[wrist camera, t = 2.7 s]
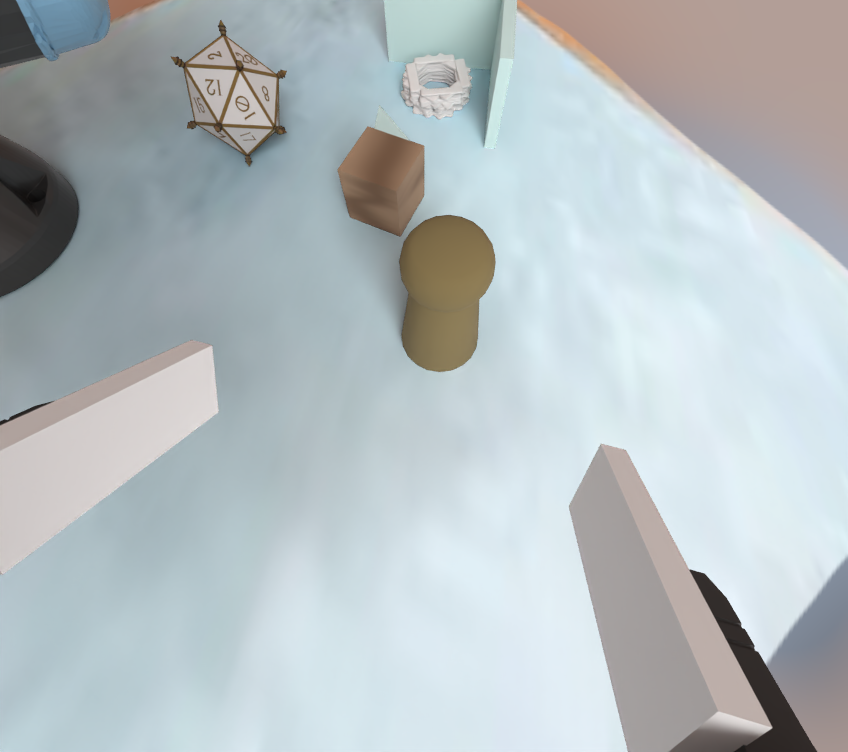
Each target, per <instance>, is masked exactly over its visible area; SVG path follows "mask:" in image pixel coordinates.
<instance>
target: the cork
mask: <svg viewBox="0 0 848 752" xmlns="http://www.w3.org/2000/svg"><path fill="white" fill-rule="evenodd" d="M399 264H400V271H401V278H402V281H403V283H404V285H405V287H406V289H407V291H408V292H409V294H408V300H407V306H406V312H405V317H404V323H403V329H402V343H403V347H404V349H405V351H406V353H407V355H408V357H409V358H410V359H411V360H412V361H413V362H414V363H415V364H417V365H419V366H421V367H423V368H425V369H427V370H431V371H437V372H443V371H450V370H453V369H456V368H458V367H460V366H462V365H463V364H464V363H466V362H467V361H468V360H469V359H470V358H471V356H472V355H473V353H474V351H475V349H476V346H477V339H478V318H479V299H480V298H481V297H482V296H483V295H484V294H485V293H486V291H487V289H488V287H489V285H490V284H491V282H492V279H493V276H494V270H495V254H494V250H493V246H492V243H491V242H490V240H489V239H488V237H487V235H486V234H485V232H484V231H483V230H482V229H481V228H480V227H479V226H477V225H476V224H475V223H474V222H472V221H470V220H467V219H465V218H463V217H459V216H452V215H444V216H435V217H433V218H430V219H428V220H425V221H423V222H422V223H421V224H420V225H418V226H417V227H416V228H415V229H413V230H412V231H411V232H410V234H409V235H408V237H407V238H406V240H405V241H404V244H403V247H402V251H401V255H400V259H399Z"/></svg>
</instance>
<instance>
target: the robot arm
mask: <svg viewBox="0 0 848 752" xmlns="http://www.w3.org/2000/svg"><path fill="white" fill-rule="evenodd" d="M109 27H110V9H109V5H108V0H0V68H3V67H7V66H11V65H15V64H19V63H23V62H27V61H31V60H35V59H39V58H44V57H45V58H47V59H48V60H49V61H54V60H57V59H58V57H59V54H61V53H64V52H67V51H70V50H73V49H77V48H80V47H83V46H86V45H90V44H93V43H96V42H98V41H100V40H102V39H103V38H104V37H105V36H106V35H107V33H108V31H109ZM77 216H78V203H77V198H76V195H75V192H74V190H73V188H72V187H71V185H70V184H69V183H68V182H67V180H66V179H64V178H63V177H62V176H61V175H60V174H59V173H58V172H57V171H55V170H54V169H53V168H52V167H51V166H50V165H49V164H47V163H46V162H45V161H44V160H43V159H41V158H40V157H39V156H37V155H36V154H34V153H33V152H31V151H30V150H28V149H26V148H24V147H22V146H20V145H19V144H17V143H15V142H13V141H11V140H9V139H8V138H6V137H4V136H2V135H0V297H1V296H3V295H5V294H8V293H10V292H12V291H14V290H16V289H18V288H19V287H21V286H23V285H25V284H26V283H28V282H29V281H31V280H32V279H34V278H35V277H36V276H38V275H39V274H40V273H41V272H43V271H44V270H45V269H46V268H47V267H48V266H49V265H50V264H51V263H52V262H53V261H54V260H55V259H56V258H57V257H58V256H59V254H60V253H61V252H62V251H63V249H64V248H65V246H66V245H67V243H68V241H69V240H70V238H71V236H72V233H73V231H74V228H75V225H76V221H77ZM218 412H219V411H218V400H217V390H216V380H215V369H214V359H213V348H212V345H210V344H206V343H202V342H198V341H194V340H190V341H188V342H186V343H184V344H181V345H179V346H177V347H175V348H172V349H170V350H168V351H166V352H163V353H161V354H159V355H157V356H154V357H152V358H150V359H148V360H146V361H143V362H141V363H139V364H137V365H134V366H132V367H130V368H128V369H125V370H123V371H121V372H119V373H116V374H114V375H112V376H110V377H108V378H105V379H103V380H101V381H99V382H96V383H94V384H92V385H90V386H87V387H85V388H83V389H81V390H78V391H76V392H74V393H72V394H70V395H67V396H65V397H63V398H61V399H58V400H56V401H52V402H48V403H45V404H41V405H37V406H34V407H32V408H30V409H27V410H25V411H23V412H21V413H18V414H16V415H14V416H11V417H10V419H9V420H2V421H0V574H2V575H3V574H4V573H6V572H7V571H8V570H10V569H11V568H12V567H14V566H15V565H16V564H18V563H19V562H20V561H22V560H23V559H24V558H26V557H27V556H28V555H30V554H31V553H32V552H34V551H35V550H36V549H38V548H39V547H40V546H42V545H43V544H44V543H46V542H47V541H48V540H50V539H51V538H52V537H54V536H55V535H56V534H58V533H59V532H60V531H62V530H63V529H64V528H66V527H67V526H68V525H70V524H71V523H72V522H74V521H75V520H76V519H77V518H79V517H80V516H81V515H83V514H84V513H85V512H87V511H88V510H89V509H91V508H92V507H93V506H95V505H96V504H97V503H99V502H100V501H101V500H103V499H104V498H105V497H107V496H108V495H109V494H111V493H112V492H113V491H115V490H116V489H117V488H119V487H120V486H121V485H123V484H124V483H125V482H127V481H128V480H129V479H131V478H132V477H133V476H135V475H136V474H137V473H139V472H140V471H141V470H143V469H144V468H145V467H147V466H148V465H149V464H151V463H152V462H153V461H155V460H156V459H157V458H159V457H160V456H161V455H163V454H164V453H165V452H167V451H168V450H169V449H171V448H172V447H173V446H174V445H176V444H177V443H178V442H180V441H181V440H182V439H184V438H185V437H186V436H188V435H189V434H190V433H192V432H193V431H194V430H196V429H197V428H198V427H200V426H201V425H202V424H204V423H205V422H206V421H208V420H209V419H210V418H212V417H213V416H214V415H216V414H217V413H218ZM569 510H570V514H571V518H572V522H573V526H574V530H575V535H576V539H577V543H578V547H579V551H580V555H581V559H582V563H583V568H584V572H585V576H586V580H587V584H588V588H589V592H590V597H591V601H592V605H593V609H594V613H595V617H596V621H597V625H598V630H599V634H600V638H601V642H602V646H603V650H604V654H605V659H606V663H607V667H608V671H609V675H610V679H611V683H612V688H613V692H614V696H615V700H616V704H617V708H618V712H619V716H620V721H621V725H622V729H623V733H624V737H625V741H626V745H627V750H628V752H817V751H816V749H815V748H814V746H813V745H812V743H811V741H810V740H809V738H808V736H807V734H806V733H805V731H804V729H803V728H802V726H801V725H800V723H799V721H798V719H797V718H796V716H795V714H794V712H793V711H792V709H791V707H790V705H789V704H788V702H787V700H786V699H785V697H784V695H783V694H782V692H781V690H780V688H779V687H778V685H777V683H776V682H775V680H774V678H773V677H772V675H771V673H770V671H769V670H768V668H767V666H766V664H765V663H764V661H763V659H762V658H761V656H760V654H759V653H758V652H757V651H755V650H754V644H753V642H752V641H751V639H750V637H749V635H748V634H747V632H746V630H745V629H743V628H742V627H741V622H740V620H739V618H738V617H737V615H736V613H735V612H734V610H733V608H732V606H731V605H730V603H729V601H728V600H727V598H726V597H725V596H724V595H723V593H722V592H721V591H720V590H719V589H718V588H717V587H716V586H715V585H714V584H713V582H712V581H711V580H710V579H709V578H708V577H707V576H706V575H705V574H704V573H700V572H697V571H693V570H689V569H688V567H687V565H686V563H685V561H684V559H683V557H682V555H681V554H680V552H679V550H678V548H677V546H676V544H675V542H674V540H673V538H672V536H671V535H670V533H669V531H668V529H667V527H666V525H665V523H664V521H663V519H662V518H661V516H660V514H659V512H658V510H657V508H656V506H655V504H654V502H653V501H652V499H651V497H650V495H649V493H648V491H647V489H646V487H645V485H644V484H643V482H642V480H641V478H640V476H639V474H638V472H637V470H636V468H635V467H634V465H633V463H632V461H631V459H630V457H629V455H628V453H627V451H626V450H623V449H619V448H616V447H612V446H608V445H604V444H601V445H600V447H599V449H598V450H597V452H596V454H595V456H594V458H593V460H592V462H591V464H590V466H589V468H588V470H587V472H586V474H585V476H584V478H583V480H582V482H581V484H580V485H579V487H578V489H577V491H576V493H575V495H574V497H573V499H572V501H571V503H570V505H569Z"/></svg>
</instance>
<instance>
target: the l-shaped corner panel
mask: <svg viewBox="0 0 848 752" xmlns="http://www.w3.org/2000/svg"><path fill="white" fill-rule="evenodd" d="M384 7H385V20H386V33H387V46H388V58H389V62H400V63H409V64H406V66H405V67H406V70H405V73H404V74H403V77H404V78H402V80H403V88H404V90H402V91H401V94H402V96H403V99H404V100H406V101H405V103H406V104H407V106H413V113H414V114H423V115H424V116H425V117H426V118H429V117H431V116H432V115H434V116H435V117H436V118H438V119H439V120H440V119H442V118H444V117H445V116H446V117H452V116H453V112H454V111H455V110H462V108H463V105H465V104H466V103H468V102H469V98H468V97H469V94H470V89H471V88H472V84H471V83H470V81H471V80H472V78H473V77H471V76H470V75H468V74H469V73H470V72H471V69H470V68H474V69H486V70H491V72H490V84H489V96H488V108H487V120H486V132H485V144H484V148H492V149H495V146H496V142H497V137H498V132H499V127H500V122H501V118H502V113H503V108H504V103H505V99H506V94H507V89H508V84H509V79H510V75H511V70H512V65H513V60H514V45H515V27H516V9H517V0H384ZM429 81H435V82H446V83H447V84H448V85H449V86H450V87H446V88H434V89H427V88H426V87H424V86H422V85H424V84H426V83H427V82H429ZM374 129H377V130H380V131H383V132H386V133H388V134H391V135H394V136H397V137H400V138H403V139H406V140H409V139H408V138H407V136H406V135H405V134H404V133H403V132H402V131H401V129H400V128H399V127H398V126H397V125H396V124H395V123H394V121H393V120H392V119H391V118H390V117H389V116H388V114H387V113H386V112H385V111H384V110H383V109H382V108H381V106H380V105H379V109H378V113H377V118H376V123H375V127H374ZM409 141H410V140H409Z"/></svg>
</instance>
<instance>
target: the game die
mask: <svg viewBox="0 0 848 752" xmlns="http://www.w3.org/2000/svg"><path fill="white" fill-rule="evenodd" d="M218 27H219V31H220V33H221V36H220V37H219V38H217V39H216V40H215V41H213V42H212V43H211V44H209V45H208V46H207V47H205V48H204V49H203V50H201V51H200V52H199V53H197V54H196V55H195V56H193V57H192V58H191V59H190V60H188V61H187V62H186V63H184V62H183V61H182V59H179V57H171V58H172V60H173V61H174V62H175V65H178V66H179V67H183V68H184V73H185V78H186V83H187V88H188V92H189V97H190V102H191V107H192V112H193V117H194V121H190V122H188V125H187V128H191V129H194V128H196V125H198V126H200V127H201V128H203V129H204V130H206V131H208V132H209V133H211V134H212V135H214V136H216V137H217V138H219V139H220V140H222V141H224V142H225V143H227V144H228V145H230V146H232V147H233V148H235V149H236V150H238V151H240V152H241V153H243V154H244V155H245V156H246V158H245V159H246V161H245V162H246V163H247V164H248V165H249V166H250V164H251V162H252V161H251V158H250V156H249V155H250V154H251V153H252V152H253V151H254V150H256V149H257V148H258V147H259V146H260V145H261V144H262V143H263V142H264V141H266V140H267V139H268V138H269V137H270V136H271V135H272V134H273V133H274V132H276V133H277V134H283V133H287V132H286V131H285V128H284V127H282V126H279V78H282V79H283V77H284V78H285V75H286V72H287V71H284V70H281V71H278V73H277V74H275V73H274V72H273V71H271V70H270V69H269V68H267V67H266V66H265V65H263V64H262V63H261V62H259V61H258V60H257V59H256V58H254V57H253V56H252V55H250V54H249V53H248V52H246V51H245V50H244V49H242V48H241V47H240V46H239V45H237V44H236V43H235V42H233V41H232V40H231V39H229V38H228V37H227V36H226V29H225V28H226V27H225V26H224V24H223V23H222V21H221V20H220V23H219V26H218Z"/></svg>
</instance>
